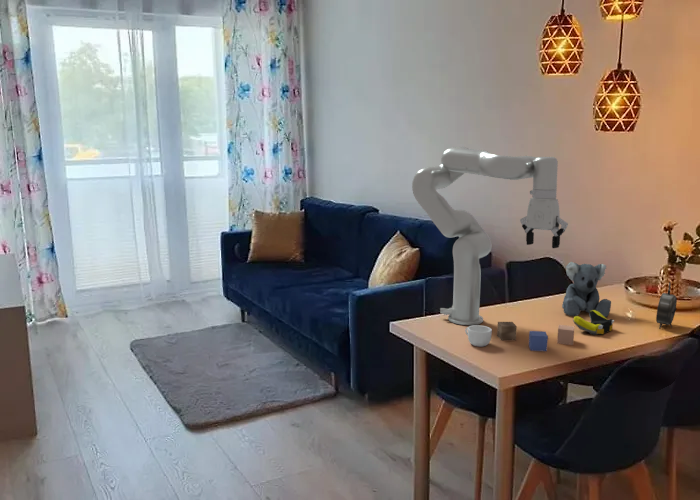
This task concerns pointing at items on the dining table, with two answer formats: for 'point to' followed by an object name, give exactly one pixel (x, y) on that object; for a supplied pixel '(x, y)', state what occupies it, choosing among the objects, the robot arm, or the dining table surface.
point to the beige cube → (565, 334)
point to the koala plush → (584, 290)
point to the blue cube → (538, 341)
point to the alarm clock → (666, 308)
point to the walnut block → (506, 331)
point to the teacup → (479, 335)
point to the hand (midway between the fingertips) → (542, 246)
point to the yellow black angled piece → (594, 323)
